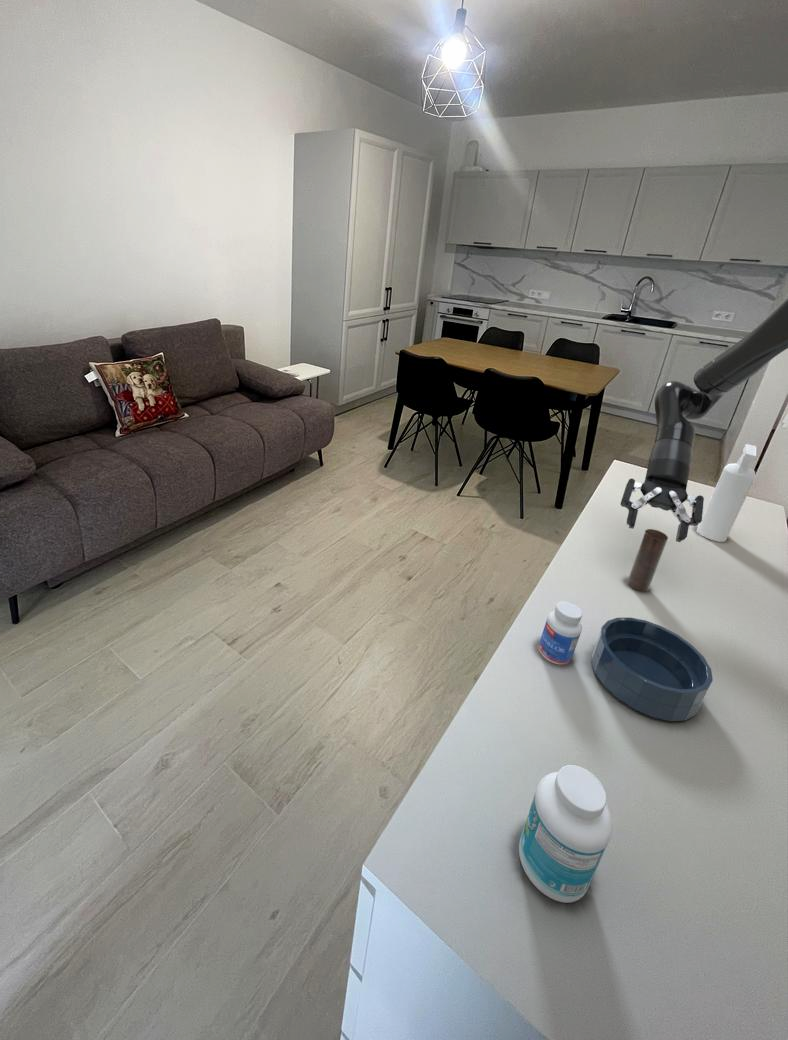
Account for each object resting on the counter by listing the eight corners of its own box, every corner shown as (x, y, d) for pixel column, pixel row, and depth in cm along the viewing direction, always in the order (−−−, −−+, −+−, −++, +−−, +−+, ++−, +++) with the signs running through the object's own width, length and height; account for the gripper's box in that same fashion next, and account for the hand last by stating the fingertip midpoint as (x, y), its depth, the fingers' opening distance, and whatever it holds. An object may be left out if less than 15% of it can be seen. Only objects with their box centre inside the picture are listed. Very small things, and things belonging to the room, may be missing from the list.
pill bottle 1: (531, 650, 86) (545, 605, 82) (547, 637, 89) (560, 593, 85) (562, 671, 82) (577, 625, 78) (577, 656, 85) (592, 611, 82)
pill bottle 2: (540, 815, 61) (567, 738, 56) (599, 874, 55) (635, 795, 50) (503, 856, 56) (529, 777, 51) (564, 924, 51) (600, 843, 46)
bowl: (709, 689, 81) (724, 659, 78) (679, 744, 71) (695, 712, 69) (612, 633, 91) (622, 605, 89) (574, 674, 81) (584, 644, 79)
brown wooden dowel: (650, 587, 105) (670, 535, 100) (644, 595, 102) (664, 542, 97) (630, 578, 108) (649, 526, 103) (623, 585, 105) (642, 532, 100)
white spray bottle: (728, 530, 131) (766, 442, 121) (727, 549, 122) (767, 456, 112) (698, 520, 134) (733, 435, 125) (694, 538, 126) (731, 447, 116)
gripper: (635, 449, 107) (619, 517, 102) (714, 466, 101) (701, 540, 96) (628, 463, 113) (613, 528, 108) (702, 480, 107) (689, 550, 102)
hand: (654, 534), depth 102 cm, fingers open, 8 cm apart
